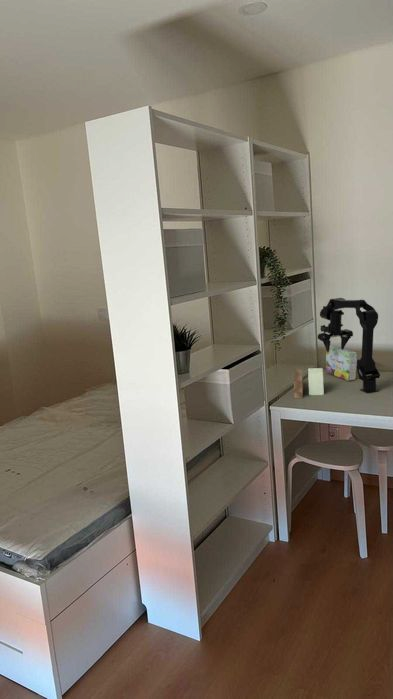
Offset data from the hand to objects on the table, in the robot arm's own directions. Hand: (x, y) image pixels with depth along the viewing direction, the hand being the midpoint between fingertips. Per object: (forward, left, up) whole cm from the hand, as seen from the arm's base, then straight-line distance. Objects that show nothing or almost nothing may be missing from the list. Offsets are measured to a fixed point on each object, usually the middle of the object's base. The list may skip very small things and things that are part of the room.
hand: (335, 350), depth 284 cm
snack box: (+3, -5, -16) cm, 17 cm away
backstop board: (-11, +27, -16) cm, 33 cm away
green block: (-15, +20, -16) cm, 29 cm away
